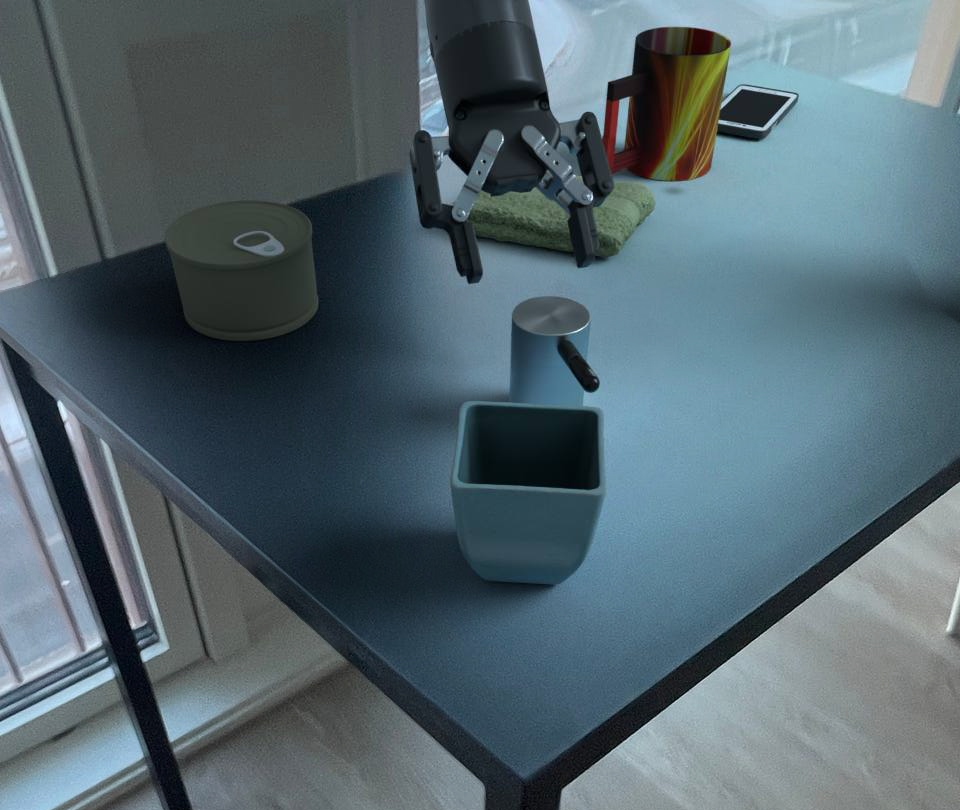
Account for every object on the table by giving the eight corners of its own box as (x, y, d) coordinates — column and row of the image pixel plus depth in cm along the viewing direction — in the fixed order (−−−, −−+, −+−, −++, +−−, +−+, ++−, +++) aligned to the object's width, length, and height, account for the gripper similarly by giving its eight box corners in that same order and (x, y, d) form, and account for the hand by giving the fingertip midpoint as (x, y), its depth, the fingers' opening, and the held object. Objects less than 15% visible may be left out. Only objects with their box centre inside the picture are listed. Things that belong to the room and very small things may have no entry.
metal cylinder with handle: (499, 397, 78) (501, 301, 73) (566, 386, 80) (573, 291, 74) (548, 481, 71) (555, 381, 65) (622, 467, 72) (634, 368, 66)
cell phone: (799, 101, 124) (801, 93, 123) (764, 141, 115) (765, 132, 114) (738, 91, 126) (740, 82, 125) (699, 129, 117) (700, 120, 116)
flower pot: (591, 518, 68) (604, 404, 62) (593, 609, 62) (607, 493, 56) (462, 512, 69) (461, 398, 62) (451, 602, 62) (448, 486, 56)
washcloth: (497, 184, 107) (498, 152, 104) (658, 214, 102) (662, 181, 99) (444, 234, 98) (443, 200, 96) (615, 269, 93) (619, 235, 91)
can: (269, 262, 94) (257, 187, 89) (348, 309, 88) (341, 231, 83) (155, 305, 88) (136, 228, 83) (232, 358, 82) (216, 278, 77)
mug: (596, 185, 106) (607, 60, 98) (638, 141, 115) (652, 21, 106) (685, 202, 104) (704, 74, 95) (721, 155, 112) (741, 34, 104)
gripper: (395, 25, 67) (448, 267, 68) (593, 8, 70) (641, 239, 71) (381, 86, 74) (429, 303, 75) (561, 67, 78) (605, 276, 78)
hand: (532, 272), depth 73 cm, fingers open, 8 cm apart
